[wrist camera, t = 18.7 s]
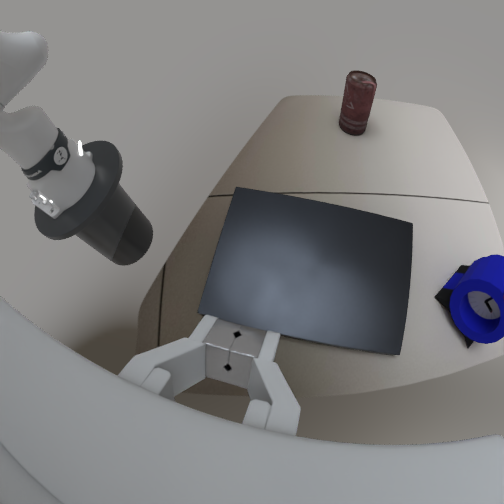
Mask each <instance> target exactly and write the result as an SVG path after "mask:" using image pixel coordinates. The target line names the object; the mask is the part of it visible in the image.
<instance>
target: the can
mask: <svg viewBox="0 0 504 504" xmlns="http://www.w3.org/2000/svg"><path fill="white" fill-rule="evenodd" d="M376 87H377V83H376V79H375V78H374V77H373V76H372V75H370V74H368V73H366V72H362V71H351V72H350V73H349V74H348V75H347V77H346V84H345V90H344V96H343V102H342V108H341V114H340V119H339V125H340V127H341V128H342V130H343V131H344V132H346V133H348V134H351V135H359V134H362V133H363V132H364V131H365V129H366V125H367V122H368V118H369V114H370V111H371V107H372V103H373V99H374V95H375V91H376Z"/></svg>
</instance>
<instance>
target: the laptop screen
mask: <svg viewBox="0 0 504 504" xmlns="http://www.w3.org/2000/svg"><path fill="white" fill-rule="evenodd" d="M412 240H413V223H410V222H406V221H402V220H398V219H394V218H390V217H386V216H382V215H378V214H374V213H370V212H366V211H361V210H357V209H353V208H348V207H344V206H339V205H334V204H329V203H325V202H320V201H315V200H310V199H304V198H299V197H294V196H288V195H283V194H277V193H271V192H265V191H259V190H253V189H247V188H240V187H236V189H235V192H234V195H233V198H232V201H231V204H230V207H229V210H228V213H227V216H226V219H225V222H224V226H223V229H222V232H221V235H220V238H219V241H218V245H217V248H216V251H215V254H214V258H213V261H212V264H211V268H210V271H209V274H208V278H207V281H206V285H205V288H204V291H203V295H202V298H201V302H200V305H199V309H198V312H197V313H199V314H203V315H211V316H214V317H217V318H221V319H225V320H228V321H232V322H235V323H239V324H242V325H246V326H250V327H254V328H258V329H262V330H267V331H273V332H278V333H280V334H281V335H286V336H290V337H295V338H300V339H304V340H309V341H314V342H319V343H325V344H330V345H336V346H341V347H347V348H353V349H359V350H365V351H372V352H379V353H386V354H393V355H400V351H401V346H402V340H403V335H404V329H405V322H406V315H407V307H408V299H409V290H410V278H411V264H412Z"/></svg>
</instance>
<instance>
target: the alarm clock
mask: <svg viewBox="0 0 504 504" xmlns="http://www.w3.org/2000/svg"><path fill="white" fill-rule="evenodd" d="M435 298H436V299H437V300H439V301H440V302H441V303H442V304H443V305H444V306H445V307H446V308H447V309H448V310H449V311H451V316H452V318H453V320H454V323H455V325H456V326H457V327H458V329H459V330H460V331H461V332H462V333H463V334H464V335H465V338H466V342H467V346H468V348H469V347H470V345H471V344H472V343H473V341H476V342H478V343H485V344H488V343H493V342H496V341H498V340H500V339H501V338H503V337H504V256H500V255H490V256H488V257H482V258H480V259H478V260H476V261H474V262H473V263H472V265H471V266H465V265H461V266H460V267H459V269H458V270H457V271H456V272H455V274H454V275H453V276H452V277H451V278H450V280H449V281H448V282H447V283H446V284H445V286H444V287H443V288H442V289H441V290H440V291H439V292H438V294H437V295H436V296H435Z"/></svg>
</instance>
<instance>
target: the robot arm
mask: <svg viewBox="0 0 504 504" xmlns="http://www.w3.org/2000/svg"><path fill="white" fill-rule="evenodd" d="M47 58H48V46H47V42H46V40H45V39H44V37H43V36H42V35H40V34H39V33H36V32H31V31H28V32H21V33H9V32H4V31H1V30H0V149H1V150H3V151H4V152H5V153H7V154H8V155H9V156H10V157H11V158H12V159H13V160H14V161H16V162H17V163H18V164H19V165H20V166H21V168H22V171H23V173H24V174H25V176H26V177H27V178H28V183H27V187H28V188H29V189H30V190H31V191H32V193H31V194H30V198H31V199H32V203H33V204H34V205H35V206H37V207H38V208H39V209H41V210H42V211H43V212H45V213H46V214H48V215H49V216H50V217H52V218H53V219H56V218H57V217H58V216H59V215H60V214H61V213H62V212H63V211H64V210H66V209H68V208H69V207H71V206H73V205H74V204H75V203H76V202H78V201H79V200H80V199H81V198H82V196H83V195H84V194H85V193H86V191H87V190H88V188H89V187H90V185H91V183H92V181H93V179H94V175H95V165H94V163H93V161H92V158H93V154H92V153H91V152H85V151H84V150H83V149H82V145H81V142H80V141H79V145H78V144H77V143H76V142H75V141H74V140H73V139H67V138H66V136H65V134H64V133H63V132H62V131H61V130H60V129H59V128H56V127H55V126H54V124H53V123H52V121H51V120H50V119H49V117H48V116H47V115H46V113H45V112H44V111H43V109H42V108H40V107H38V106H29V107H26V108H23V109H21V110H18V111H16V112H14V113H6V112H4V111H3V109H4V108H5V106H6V105H7V104H8V103H9V102H10V101H11V100H12V98H14V97H15V96H16V95H17V93H19V92H20V91H21V90H22V89H23V88H24V87H25V86H26V85H27V84H28V83H29V82H30V81H31V80H32V79H33V78H34V77H35V75H36V74H37V73H38V72H39V71H40V70H41V68H42V67H43V66H44V65H45V64H46V62H47ZM279 339H280V333H278V332H273V331H267V330H262V329H258V328H254V327H250V326H246V325H242V324H239V323H235V322H232V321H228V320H225V319H221V318H217V317H214V316H211V315H205V316H204V317H203V318H202V320H201V321H200V323H199V324H198V325H197V327H196V328H195V330H194V331H193V333H192V334H191V335H190V337H189V338H182V339H179V340H177V341H174V342H171V343H169V344H166V345H163V346H161V347H158V348H155V349H152V350H149V351H147V352H144V353H141V354H138V355H135V356H134V357H133V358H132V359H131V360H130V361H129V363H128V364H127V365H126V366H125V367H124V368H123V370H122V371H121V372H120V373H119V374H118V375H115V374H113V373H111V372H109V371H107V370H106V369H104V368H102V367H100V366H98V365H97V364H95V363H93V362H91V361H90V360H88V359H86V358H85V357H83V356H81V355H80V354H78V353H76V352H75V351H73V350H71V349H70V348H68V347H67V346H65V345H64V344H62V343H60V342H59V341H58V340H56V339H55V338H53V337H52V336H50V335H49V334H47V333H46V332H45V331H43V330H42V329H41V328H39V327H38V326H37V325H35V324H34V323H33V322H31V321H30V320H29V319H27V318H26V317H25V316H24V315H22V314H21V313H20V312H19V311H17V310H16V309H15V308H14V307H12V306H11V305H10V304H9V303H8V302H7V301H6V300H5V299H3V298H2V297H1V296H0V504H504V437H502V436H501V435H499V434H493V435H488V436H483V437H478V438H473V439H466V440H459V441H451V442H442V443H431V444H412V445H375V444H356V443H345V442H334V441H326V440H318V439H311V438H305V437H299V436H296V432H297V427H298V422H299V416H300V410H301V408H300V406H299V404H298V402H297V400H296V398H295V396H294V395H293V393H292V391H291V389H290V387H289V385H288V383H287V382H286V380H285V378H284V376H283V374H282V372H281V370H280V368H279V366H278V365H277V363H275V362H274V359H275V355H276V351H277V347H278V343H279ZM205 377H208V378H212V379H215V380H219V381H223V382H226V383H229V384H233V385H236V386H239V387H242V388H246V389H247V390H248V393H249V397H250V399H251V401H250V403H249V406H248V409H247V411H246V414H245V416H244V419H243V422H242V424H240V423H237V422H233V421H230V420H226V419H223V418H219V417H216V416H213V415H210V414H207V413H204V412H201V411H198V410H195V409H193V408H190V407H187V406H185V405H182V404H179V403H177V402H175V398H174V396H176V395H177V394H179V393H181V392H183V391H184V390H186V389H188V388H189V387H191V386H193V385H194V384H196V383H198V382H199V381H201V380H203V379H204V378H205Z"/></svg>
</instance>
